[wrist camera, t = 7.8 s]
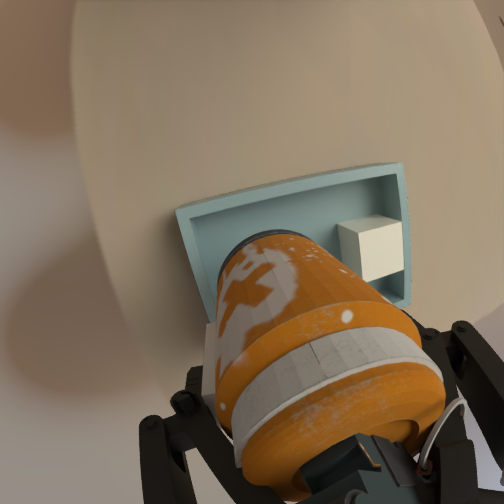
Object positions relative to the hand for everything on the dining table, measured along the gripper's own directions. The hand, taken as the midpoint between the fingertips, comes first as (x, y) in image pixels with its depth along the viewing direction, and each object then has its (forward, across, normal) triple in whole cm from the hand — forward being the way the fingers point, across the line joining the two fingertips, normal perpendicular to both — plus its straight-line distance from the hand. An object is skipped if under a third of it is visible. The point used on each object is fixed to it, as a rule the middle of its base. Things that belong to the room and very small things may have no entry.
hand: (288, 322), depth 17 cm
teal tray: (+12, +5, 0) cm, 13 cm away
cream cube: (+11, +11, 0) cm, 16 cm away
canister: (+5, +1, 0) cm, 5 cm away
